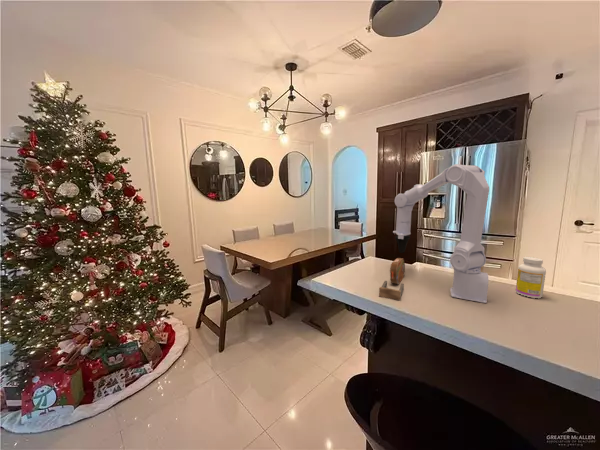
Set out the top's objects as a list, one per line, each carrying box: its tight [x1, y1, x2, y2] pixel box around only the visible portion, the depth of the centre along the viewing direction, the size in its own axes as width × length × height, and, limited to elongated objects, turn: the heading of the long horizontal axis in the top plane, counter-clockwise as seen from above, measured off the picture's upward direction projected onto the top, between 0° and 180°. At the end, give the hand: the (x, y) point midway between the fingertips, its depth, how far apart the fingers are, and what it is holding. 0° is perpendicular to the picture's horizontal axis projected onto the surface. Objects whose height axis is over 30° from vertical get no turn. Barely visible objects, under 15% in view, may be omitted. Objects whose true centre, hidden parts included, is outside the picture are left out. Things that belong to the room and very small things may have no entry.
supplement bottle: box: [515, 256, 547, 299], centre depth 80 cm, size 7×7×13 cm
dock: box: [378, 280, 405, 301], centre depth 83 cm, size 7×10×3 cm, turn 150°
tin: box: [389, 257, 406, 285], centre depth 94 cm, size 15×3×8 cm, turn 145°
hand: (401, 252), depth 104 cm, fingers closed
